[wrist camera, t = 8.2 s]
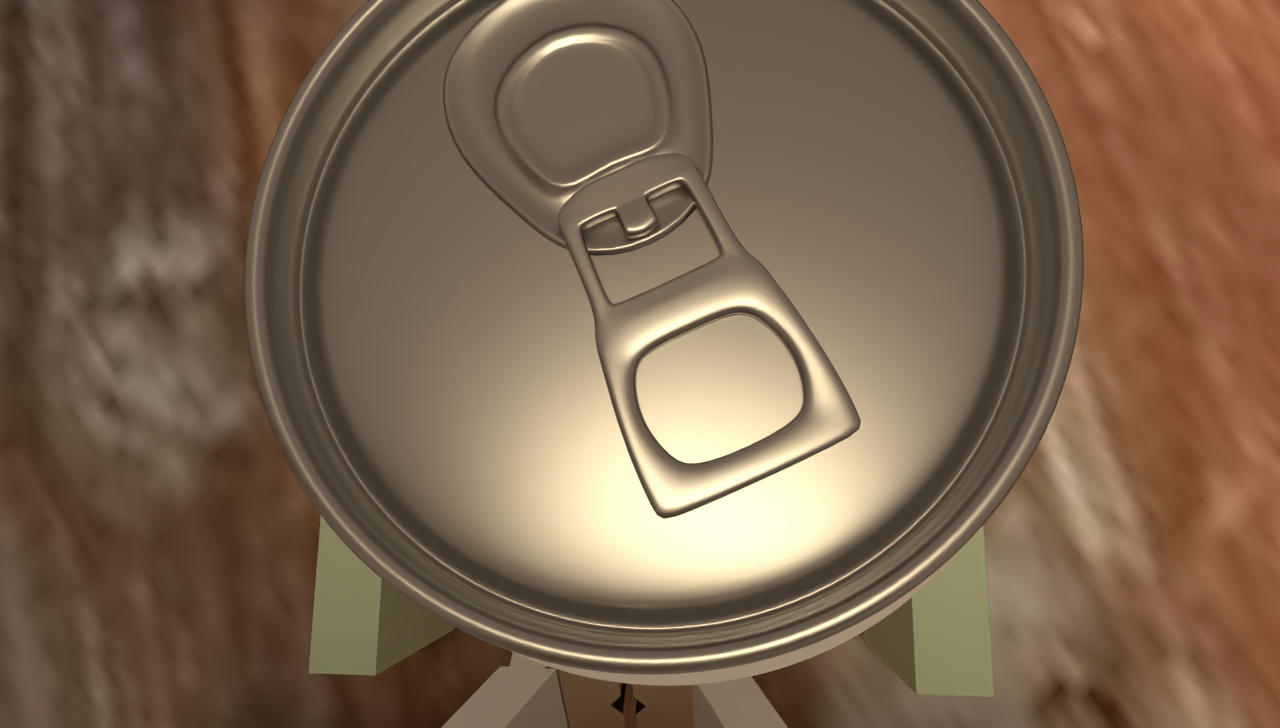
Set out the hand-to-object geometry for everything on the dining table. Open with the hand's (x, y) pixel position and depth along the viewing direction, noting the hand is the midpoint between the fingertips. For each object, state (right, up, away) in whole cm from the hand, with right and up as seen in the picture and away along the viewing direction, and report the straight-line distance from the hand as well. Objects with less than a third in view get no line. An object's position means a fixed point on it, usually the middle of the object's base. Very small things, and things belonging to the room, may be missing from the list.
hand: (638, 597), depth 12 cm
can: (+1, +2, +5) cm, 6 cm away
